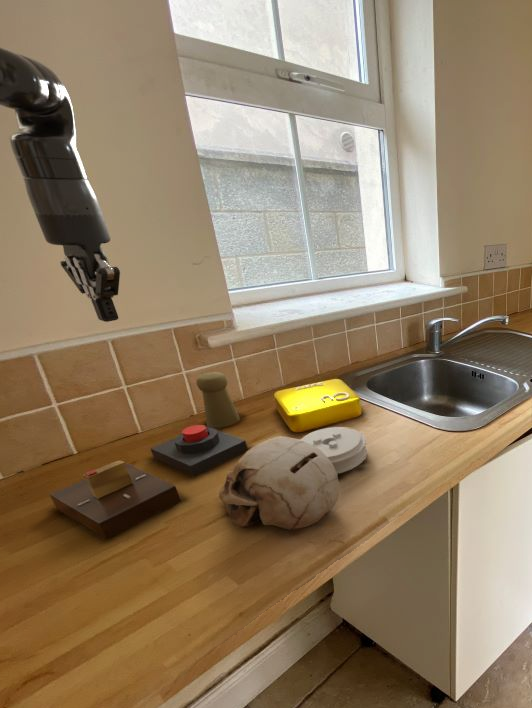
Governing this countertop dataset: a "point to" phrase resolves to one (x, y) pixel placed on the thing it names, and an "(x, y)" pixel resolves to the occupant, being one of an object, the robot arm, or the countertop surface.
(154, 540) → the countertop surface
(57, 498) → the plate
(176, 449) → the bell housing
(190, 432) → the bell button
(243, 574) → the countertop surface
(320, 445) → the lid
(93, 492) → the lock knob
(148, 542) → the countertop surface
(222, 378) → the cork
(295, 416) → the element tile
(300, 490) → the coin bank
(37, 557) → the countertop surface
